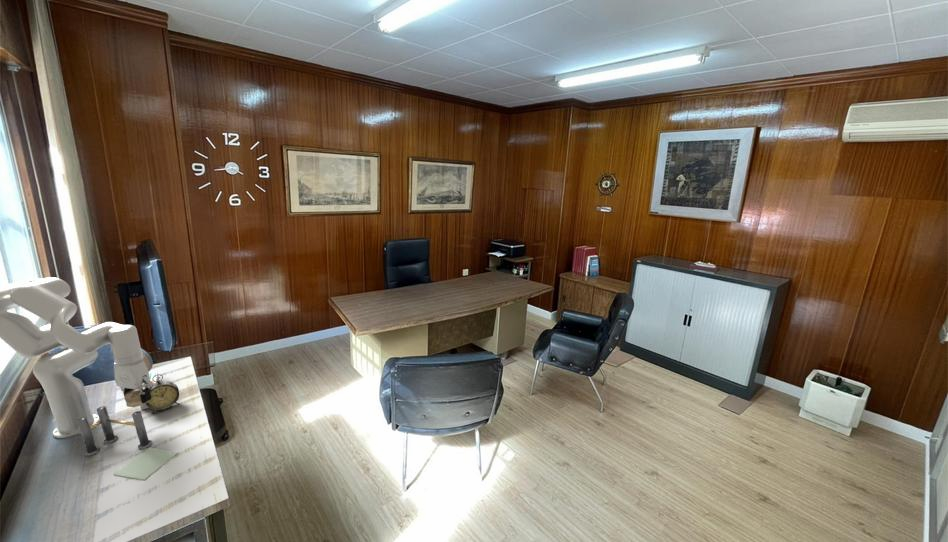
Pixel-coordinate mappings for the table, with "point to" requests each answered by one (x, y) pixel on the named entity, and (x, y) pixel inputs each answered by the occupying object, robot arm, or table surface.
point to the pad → (146, 464)
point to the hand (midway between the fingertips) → (138, 399)
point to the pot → (134, 398)
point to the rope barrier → (111, 430)
